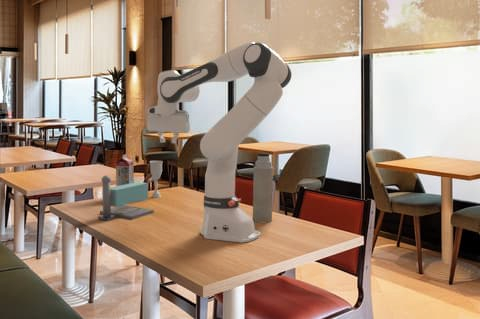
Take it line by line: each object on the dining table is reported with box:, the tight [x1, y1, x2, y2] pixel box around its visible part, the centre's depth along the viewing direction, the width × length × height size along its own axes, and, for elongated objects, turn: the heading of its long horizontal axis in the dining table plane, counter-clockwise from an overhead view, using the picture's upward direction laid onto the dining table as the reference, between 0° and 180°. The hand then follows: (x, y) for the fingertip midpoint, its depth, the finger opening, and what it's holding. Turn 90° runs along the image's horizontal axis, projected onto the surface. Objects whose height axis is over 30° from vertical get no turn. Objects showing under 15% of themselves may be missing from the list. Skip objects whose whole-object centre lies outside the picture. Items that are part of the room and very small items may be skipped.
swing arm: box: [101, 175, 149, 217], centre depth 205 cm, size 24×6×17 cm, turn 151°
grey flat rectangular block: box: [99, 204, 155, 220], centre depth 207 cm, size 18×14×1 cm
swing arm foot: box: [97, 214, 117, 222], centre depth 197 cm, size 5×5×1 cm
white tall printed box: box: [115, 153, 135, 187], centre depth 237 cm, size 7×7×22 cm
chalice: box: [149, 160, 164, 199], centre depth 243 cm, size 7×7×18 cm
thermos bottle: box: [252, 152, 274, 223], centre depth 198 cm, size 8×8×28 cm
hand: (168, 142), depth 202 cm, fingers open, 4 cm apart
